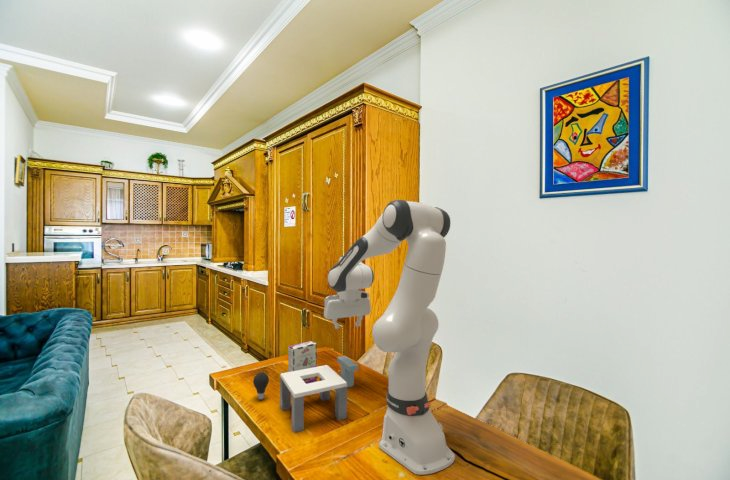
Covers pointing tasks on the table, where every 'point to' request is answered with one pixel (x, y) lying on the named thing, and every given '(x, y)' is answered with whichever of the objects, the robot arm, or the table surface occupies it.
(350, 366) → the peg
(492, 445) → the table surface
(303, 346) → the candy bar box
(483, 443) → the table surface
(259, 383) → the light bulb
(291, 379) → the cutout shelf
